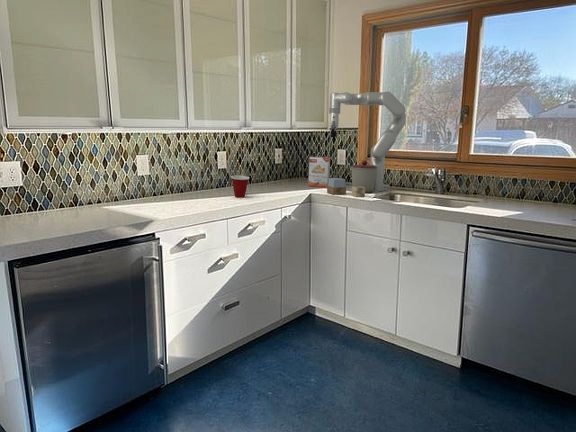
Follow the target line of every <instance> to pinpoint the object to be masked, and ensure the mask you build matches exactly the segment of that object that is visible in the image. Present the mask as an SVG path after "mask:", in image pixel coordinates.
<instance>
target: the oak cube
mask: <svg viewBox="0 0 576 432" xmlns="http://www.w3.org/2000/svg"><path fill="white" fill-rule="evenodd" d="M351 196H352V197H354V198H365V197H366V193H365V187H361V186H352V185H351Z"/></svg>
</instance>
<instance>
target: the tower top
mask: <svg viewBox="0 0 576 432" xmlns="http://www.w3.org/2000/svg"><path fill="white" fill-rule="evenodd" d="M328 186H330V187H333V188H339V187H346V178H341V177H339V178H338V177H329V184H328Z"/></svg>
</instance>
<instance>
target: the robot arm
mask: <svg viewBox="0 0 576 432" xmlns="http://www.w3.org/2000/svg"><path fill="white" fill-rule="evenodd" d="M341 104H344V105H346V106H349V105H351V106H352V105H353V106H354V105H355V106H383V107H385V108H386V110H388V111H389V112H390V113H391V115H392V120H391V122H390V124H389V125H388V127H387V128H386V129H385V131H384V132H383V133H382V134H381V136H380V138H379V139H378V141H377V142H376V143H375V144H374V145H373V146H371V148H370V164H369V165H374V166H376V167H377V168H378V169H377V173H376V179H375V184H374V189H373V191H372V192H384V191H385V190H386V188H389V187H390V185H389V184H385V183H384V174H385V162H386V159H385V157H386V155H387V154H388V152H389V151H390V150H391V148H393V146H394V144H395V143H396V140H397V138H398V135H399V134H400V133H401V131H402V130H403V129H404V127H405V125H406V122H407V116H406V115H407V114H406V111H407V110H406V107H405V105H404V104H403V103H402V102H401V101H400V100H399V99H398V98H397V97H396V96H395V95H394V94H393V93H391V92H390V91H381V92H380V91H378V92H376V91H371V92H370V91H368V92H367V91H365V92H362V93H351V92H347V91H346V92H331V93H330V94H329V107H328V110H329V112H328V113H329V114H330V130H331V131H330V138H337V129H339V119H340V117H339V116H340V115H341V106H342V105H341Z"/></svg>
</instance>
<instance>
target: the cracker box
mask: <svg viewBox="0 0 576 432" xmlns="http://www.w3.org/2000/svg"><path fill="white" fill-rule="evenodd" d="M308 164H309V165H308V183H307V184H308V185H307V186H308V187H315V188H316V187H318V188H327V186H328V184H329V178H330V170H331V157H324V156H310V157H309V163H308Z"/></svg>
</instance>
